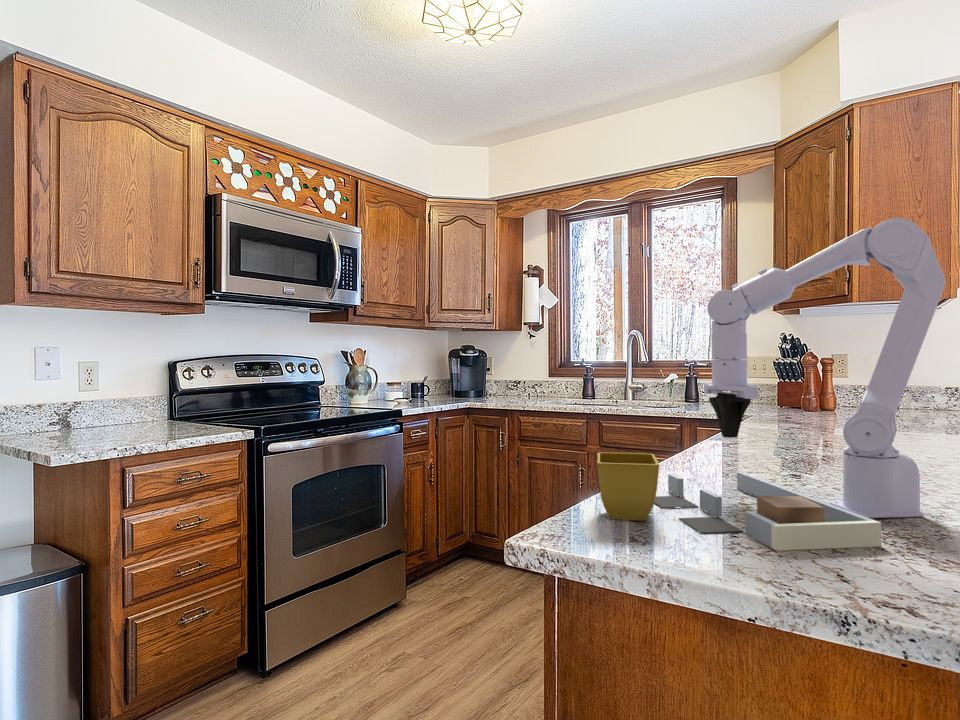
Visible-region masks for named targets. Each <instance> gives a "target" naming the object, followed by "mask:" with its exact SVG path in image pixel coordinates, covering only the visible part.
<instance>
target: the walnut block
mask: <svg viewBox="0 0 960 720" xmlns="http://www.w3.org/2000/svg"><path fill="white" fill-rule="evenodd" d="M756 513H757V514H759V515H761V516H763V517H765V518H767V519H769V520H772V521H774V522H776V523H778V524H791V523H818V522H824V507H822V506H820V505H818V504H816V503H814V502H812V501H809V500H807V499H805V498H803V497H801V496H757V497H756Z"/></svg>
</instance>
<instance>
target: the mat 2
mask: <svg viewBox="0 0 960 720" xmlns="http://www.w3.org/2000/svg"><path fill="white" fill-rule="evenodd" d="M679 519H680V520H682V521H683V522H685V523H686V524H685V523H684V524H685V525H687V524H688V525H689V526H688V525H687V526H688V527H690V526H691V527H692V528H691V527H690V528H691V529H693V528H694V529H696V530H697V531H699V532H700V533H699V532H698V533H699V534H701V533H712V534H729V532H730V533H731V534H732V533H734V534H735V532H736V533H737V532H738V533H744V531H743V530H742V529H741V528H739V527H737V526H735V525H733V524H731V523H730V522H728V521H726V520H724V519H722V517H715V516H703V517H702V516H701V517H700V516H699V517H697V516H696V517H678V520H679ZM680 520H679V521H680ZM682 521H681V522H682ZM694 529H693V530H694ZM696 530H695V531H696ZM697 531H696V532H697Z"/></svg>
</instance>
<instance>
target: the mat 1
mask: <svg viewBox="0 0 960 720" xmlns="http://www.w3.org/2000/svg"><path fill="white" fill-rule="evenodd" d="M653 505H656V506H657V507H658V508H660V507H661V508H660V509H662V508H670V509H676V508H675V507H698V508H699V505H697V504H695V503H694V502H692V501H689V500H688V499H686V498H684V497H683V496H677V495H665V496H664V495H661V496H657V495H656V497H655V501H654V504H653Z"/></svg>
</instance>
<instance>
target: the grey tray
mask: <svg viewBox="0 0 960 720" xmlns="http://www.w3.org/2000/svg"><path fill="white" fill-rule="evenodd" d="M667 476H668V479H667V483H668V485H667V486H668V487H667V489H668V490H669V491H668V492H670V491H671V492H672V493H671V492H670V493H671V494H673V493H674V494H673V495H675V494H676V495H675V496H677V495H678V496H681V497H684V495H685V493H684V492H685V491H684V490H685V489H684V488H685V487H684V478H683V477H680V476H679V475H676V474H674V473H668V475H667ZM736 484H737V485H736V488H737V490H740V491H741V492H744V493H746V494H749V495H751V496H754V497H755V498H757V496H801V497H803V498H805V499H807V500H809V501H812V502H814V503H816V504H818V505H820V506H822V507H824V522H845V521H872V520H874V518H867V517H864V516H862V515H859V514H856V513H853V512H851V511H848V510H845V509H842V508H840V507H837V506H834V505H831V504H830V502H829V503H828V502H825V501H822V500H820V499H817V498H814V497H812V496H809V495H806V494H803V493H801V492H798V491H796V490H793V489H789V488H787V487H784V486H782V485H779V484H776V483H773V482H771V481H768V480H765V479H762V478H759V477H757V476H755V475H751V474H749V473H746V472H743V471H737V472H736ZM700 508H701V509H700ZM699 509H700V510H702V509H703V510H702V511H704V510H705V511H704V512H706V511H707V512H708V514H709V513H710V514H709V515H711V514H712V515H711V516H713V515H714V516H713V517H715V516H716V517H719V518H722V517H723V497H722V496H720V495H719V494H717V493H714V492H712V491H710V490H709V489H705V488H704V489H699ZM707 512H706V513H707ZM771 524H778V523H776V522H774V521H772V520H769V519H767V518H765V517H763V516H761V515H759V514H757V512H754V511H752V510H751V511H749V510H747V511H746V510H745V511H744V534H746V535H747V536H749V537H751V538H752V539H754V540H757V541H758V542H760V543H761V544H764V545H766V546H768V547H769V548H771V549H772V547H771Z"/></svg>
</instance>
